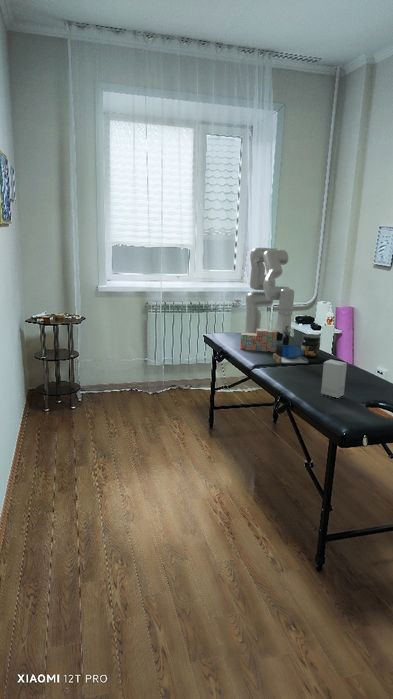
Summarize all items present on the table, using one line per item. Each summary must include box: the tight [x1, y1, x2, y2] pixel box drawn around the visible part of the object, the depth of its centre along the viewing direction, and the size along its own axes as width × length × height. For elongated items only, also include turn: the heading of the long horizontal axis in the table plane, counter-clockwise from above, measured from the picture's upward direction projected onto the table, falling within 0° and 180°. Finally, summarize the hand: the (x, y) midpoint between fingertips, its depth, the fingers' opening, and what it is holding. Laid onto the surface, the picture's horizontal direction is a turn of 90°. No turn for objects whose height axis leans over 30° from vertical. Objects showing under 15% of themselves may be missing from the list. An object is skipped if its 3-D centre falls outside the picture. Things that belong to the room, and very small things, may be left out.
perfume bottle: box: [281, 344, 305, 358], centre depth 257 cm, size 6×6×12 cm
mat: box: [280, 356, 309, 364], centre depth 254 cm, size 9×16×2 cm, turn 100°
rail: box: [272, 352, 283, 364], centre depth 253 cm, size 10×1×3 cm, turn 10°
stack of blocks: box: [239, 328, 278, 353], centre depth 274 cm, size 21×6×12 cm, turn 85°
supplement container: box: [300, 333, 321, 359], centre depth 264 cm, size 10×10×12 cm
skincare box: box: [320, 359, 348, 399], centre depth 201 cm, size 8×7×16 cm
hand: (282, 342), depth 251 cm, fingers open, 9 cm apart
